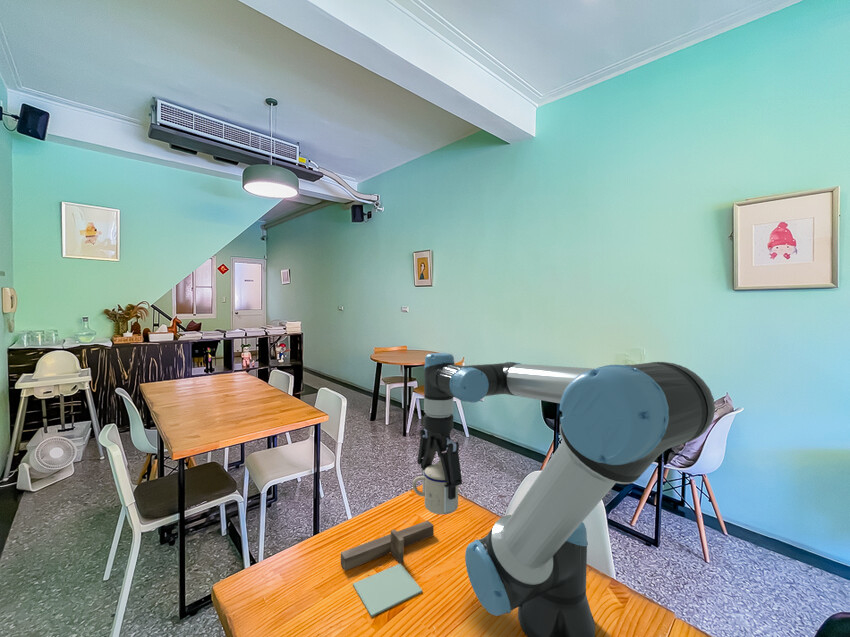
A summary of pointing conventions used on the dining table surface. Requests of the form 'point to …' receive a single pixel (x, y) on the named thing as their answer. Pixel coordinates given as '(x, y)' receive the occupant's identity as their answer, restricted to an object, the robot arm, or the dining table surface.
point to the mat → (386, 589)
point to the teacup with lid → (434, 489)
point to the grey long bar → (386, 545)
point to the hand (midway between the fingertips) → (437, 501)
